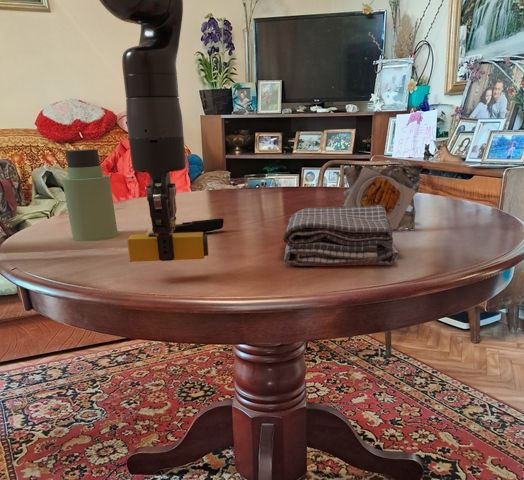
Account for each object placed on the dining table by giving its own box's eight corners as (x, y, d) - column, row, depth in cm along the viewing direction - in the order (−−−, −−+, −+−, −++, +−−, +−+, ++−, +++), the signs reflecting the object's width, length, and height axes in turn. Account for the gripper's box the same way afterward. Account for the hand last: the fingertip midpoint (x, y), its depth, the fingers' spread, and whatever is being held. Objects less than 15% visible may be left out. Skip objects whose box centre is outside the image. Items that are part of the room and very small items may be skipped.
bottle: (69, 248, 102) (50, 152, 94) (79, 239, 110) (64, 149, 103) (114, 246, 102) (100, 150, 95) (122, 237, 111) (109, 148, 103)
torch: (129, 262, 76) (126, 237, 74) (133, 256, 79) (130, 232, 77) (208, 258, 77) (206, 234, 75) (208, 253, 80) (206, 229, 78)
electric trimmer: (227, 233, 112) (226, 218, 110) (158, 241, 105) (156, 225, 104) (220, 230, 115) (219, 216, 114) (153, 238, 109) (151, 223, 107)
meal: (344, 234, 105) (346, 167, 100) (341, 230, 109) (343, 166, 104) (417, 232, 105) (423, 165, 100) (411, 228, 109) (417, 163, 104)
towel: (288, 247, 96) (288, 205, 93) (387, 247, 94) (391, 203, 91) (282, 269, 82) (282, 219, 79) (398, 268, 80) (402, 218, 77)
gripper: (135, 134, 77) (148, 247, 84) (120, 136, 64) (136, 270, 71) (185, 132, 77) (194, 245, 84) (180, 135, 64) (190, 268, 72)
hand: (168, 256), depth 78 cm, fingers closed on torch, 3 cm apart
